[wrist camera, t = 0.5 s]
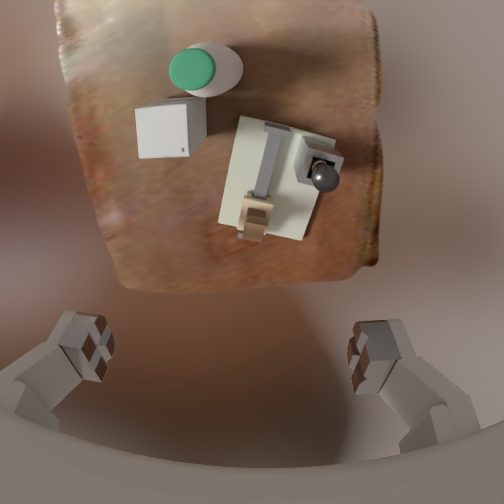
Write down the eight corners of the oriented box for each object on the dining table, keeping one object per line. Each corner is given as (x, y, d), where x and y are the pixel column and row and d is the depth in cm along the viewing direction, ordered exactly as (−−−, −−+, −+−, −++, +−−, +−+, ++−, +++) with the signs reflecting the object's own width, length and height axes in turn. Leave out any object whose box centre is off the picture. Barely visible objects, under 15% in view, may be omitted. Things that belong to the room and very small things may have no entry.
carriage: (245, 190, 52) (241, 212, 45) (273, 196, 52) (274, 219, 45) (238, 220, 55) (234, 245, 48) (265, 226, 55) (265, 251, 49)
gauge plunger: (308, 148, 43) (317, 163, 37) (331, 154, 44) (343, 171, 37) (302, 169, 45) (309, 188, 39) (324, 175, 46) (334, 195, 39)
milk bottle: (231, 39, 38) (209, 20, 22) (251, 79, 42) (243, 85, 26) (187, 60, 40) (140, 57, 24) (207, 99, 44) (173, 119, 28)
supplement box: (206, 94, 44) (188, 103, 33) (207, 137, 48) (190, 158, 37) (163, 97, 44) (133, 107, 33) (165, 138, 48) (138, 160, 38)
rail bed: (240, 115, 46) (238, 119, 42) (334, 139, 47) (341, 146, 43) (218, 219, 57) (215, 232, 53) (300, 237, 58) (303, 251, 54)
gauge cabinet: (301, 134, 47) (308, 147, 40) (333, 143, 48) (346, 158, 40) (292, 163, 50) (297, 182, 43) (323, 171, 51) (334, 191, 43)
